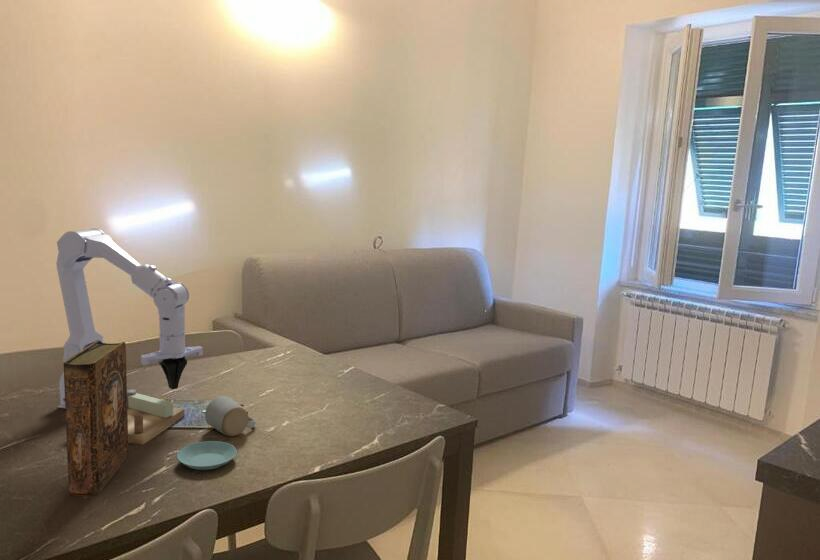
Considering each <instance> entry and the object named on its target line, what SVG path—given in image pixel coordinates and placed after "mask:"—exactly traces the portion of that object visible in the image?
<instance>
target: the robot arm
mask: <svg viewBox="0 0 820 560" xmlns="http://www.w3.org/2000/svg"><path fill="white" fill-rule="evenodd" d="M56 246H57V251H58V253H57V260H56V263H55V264H56V269H57V270H56V271H57V275H58V276H57V277H58V280H59V281H58V282H59V285H60V291H61V295H62V300H63V305H64V310H65V315H66V321H67V325H68V331H69V337H68V338H67V340H66V342H64V345H63V351H64V352H63V353H64V354H63V357H62V363H63V365H64V362H65V361H66V360H68V359H69V358H71V357H72V356H74V355H76V354H77V353H79V352H80V351H82V350H83V349H85V348H86V347H88V346H90V345H91V344H93V343H94V342H96V341H99V342H100V343H105V341H104V338H103V335H102V334H100V333H99V332H98V331H96V329H95V323H94V320H93V319H94V318H93V313H92V308H91V303H90V297H89V293H88V288H87V282H86V277H85V272H84V268H85V267H86V266H87V265H88V264H89V262H91V260H92V259H94V258H96V259H97V258H100V259H104V260H106V261H107V262H109V263H111V264H112V265H113V266H115V267H117V268H119V269H120V270H121V271H123V272H125V274H127V275H129V276H130V277H131V282H132V284H133V285H134V286H135V287H137V288H139V289H140V290H141V291H142V292H143V293H145V294H146V295H148V296H149V297H150V298H152V299H153V303H154V305H155V306H156V308H157V310H158V311H157V312H158V315H159V316H158V320H159V350H157V351H154V352H150V353H146V354H142V355H140V363H141V364H142V365H143V366H148V365H149V364H155V363H158V364H159V365H160V367H161V369H162V370H163V373H164V375H165V377H166V381H167V385H168V388H169V389H170V390H177V389H178V388H179V384H180V379H181V377H182V373H183V372H184V370H185V368H186V366H187V364H188V360H187V359H186V358H188V357H189V358H190V357H194V356H203V355H204V351H203V350H204V347H202V346H200V345H195V346H186V309H185V308H186V307H185V304H187V302H188V301H189V299H190V298H189V297H190V292H189V290H188V288H187V287H186V286H185V285H184V283H183V282H180V281H176V282H175V281H173V279H172V278H170V277H166V276H165V275H164V274H162V273H161V272H160V271H158V270H157V268H158V267H157V266H155V265H153V264H152V265H150V264H148V263H147V264H146V263H145V264H141V263H139V262H138V261H137V260H136V259H134V258H133V257H132V256H131V255H130V254H129V253H127V252H126V251H125V250H124V249H122V248H121V247H120V246H119V245H118V244H116V243H115V242H114V241H113V239H112V237H111V235H108V234H106V233H105V232H104V231H103V230H101V229H99V228H90V229H86V230H85V229H84V230H75V231H74V230H72V231H71V230H70V231H69V230H68V231H67V232H65V233H64V234H63V235H61V236H60V238H59V239H58V240H57V241H56ZM59 400H60V404H59V405H58V406H57V407H58V408H60V409H65V386H64V372H62V374H61V376H60V378H59Z"/></svg>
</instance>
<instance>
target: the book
mask: <svg viewBox="0 0 820 560" xmlns="http://www.w3.org/2000/svg"><path fill="white" fill-rule="evenodd" d="M126 345H127V344H126V342H125V341H122V342H120V343H119V342H118V343H106V342H104V343H100V342H99V341H96V342H94V343H93V344H91V345H90V346H88V347H86V348H85V349H83V350H82V351H80V352H79V353H77V354H76V355H74V356H72V357H71V358H69V359H68V360H66V361H65V362H64V364H63V373H64V386H65V408H64V410H65V426H66V427H65V430H66V434H65V435H66V451H67V453H66V454H67V456H66V457H67V478H68V479H67V480H68V482H67V483H68V494H69V495H71V496H75V497H76V496H77V497H87V496H88V497H89V496H93V495H97V494H99V493H100V492H101V491H103V489H104V487H105V486H106V485H107V483H109V482H110V480H112V477H114V475H115V474H116V472H117V471H118V470H119V469H120V468H121V467H122V465H123V464H124V463H125V461H126V460H127V458H129V457H128V456H129V443H128V413H127V390H128V385H127V384H128V382H127V381H128V380H127V375H128V374H127V347H126Z"/></svg>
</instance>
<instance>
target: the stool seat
mask: <svg viewBox="0 0 820 560" xmlns="http://www.w3.org/2000/svg"><path fill="white" fill-rule="evenodd" d="M127 413H128V444H135V445H145V444H147V442H150V441H151V440H152V439H154V438H155V437H157V436H158V435H160V434H161V433H163V432H164V431H165V430H167V429H169V428H170V427H171V426H173V425H174V424H176V423H177V422H178V420H179V419H180V420H182V419H183V418H184V417H185V408H181V407H174V406H173V415H172V416H169V417H167V418H164V417H160V416H156V415H153V414H149V413H146V412H142V411H139V410H135V409H132V408H127ZM183 416H184V417H183ZM182 417H183V418H182ZM181 418H182V419H181ZM180 420H179V421H180ZM176 421H177V422H176ZM175 422H176V423H175ZM172 424H173V425H172Z"/></svg>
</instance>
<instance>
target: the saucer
mask: <svg viewBox="0 0 820 560" xmlns="http://www.w3.org/2000/svg"><path fill="white" fill-rule="evenodd" d="M237 453H238V450H237V448H236V447H235V446H234V445H233V444H231V443H228V442H225V441H224V442H223V441H218V440H216V441H215V440H208V441H207V440H206V441H198V442H193V443H191V444H188V445H186V446H184V447H181V449H180V450H179V451H178V452H177V454H176V458H177V460H178V461H179V462H180V463H182V465H184V466H186V467H188V468H189V469H194V470H197V471H210V470H216V469H217V468H220V467H223V466H224V465H227V464H228V463H229V462H231V461H232V460H233V459H234V458H235V457H236V456H237Z"/></svg>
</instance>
